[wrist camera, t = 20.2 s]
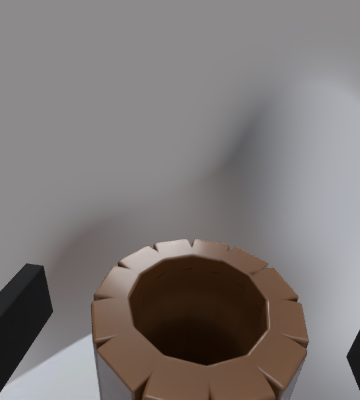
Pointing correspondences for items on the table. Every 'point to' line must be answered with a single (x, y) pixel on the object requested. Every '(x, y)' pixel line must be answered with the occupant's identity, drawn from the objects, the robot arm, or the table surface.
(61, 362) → the table surface
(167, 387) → the brown wooden hollow cylinder
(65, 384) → the table surface
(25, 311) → the robot arm
